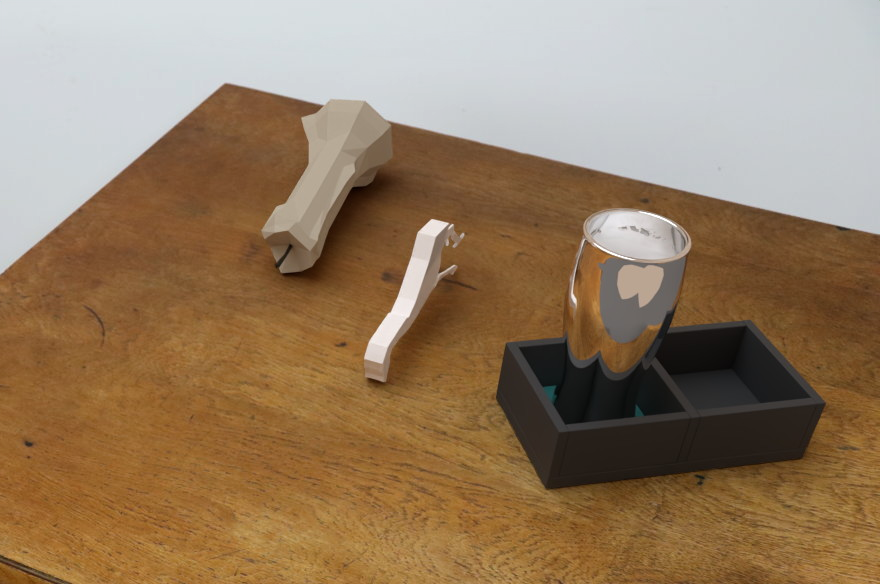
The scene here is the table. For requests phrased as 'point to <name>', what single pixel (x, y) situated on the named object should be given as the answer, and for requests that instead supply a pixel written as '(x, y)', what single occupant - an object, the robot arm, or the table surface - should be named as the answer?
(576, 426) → the divided box
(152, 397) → the table surface
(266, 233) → the faceted club
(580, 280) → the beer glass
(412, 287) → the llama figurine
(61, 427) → the table surface
